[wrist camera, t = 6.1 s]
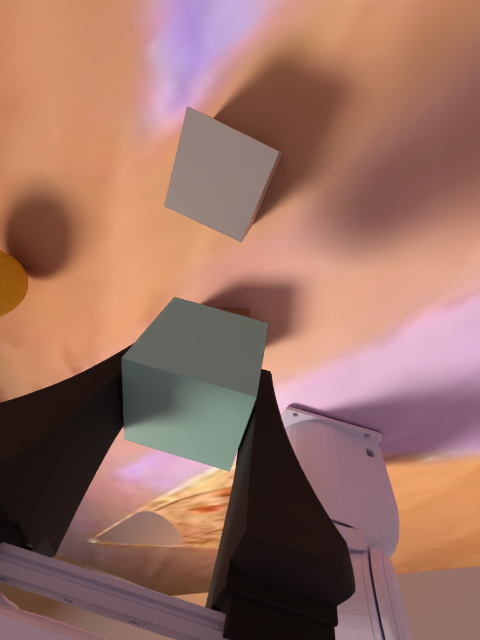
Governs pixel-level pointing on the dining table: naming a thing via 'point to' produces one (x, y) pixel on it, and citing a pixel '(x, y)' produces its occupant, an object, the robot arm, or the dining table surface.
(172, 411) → the teal block
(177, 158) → the grey block
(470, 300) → the dining table surface
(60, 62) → the dining table surface
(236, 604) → the robot arm
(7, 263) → the lemon
